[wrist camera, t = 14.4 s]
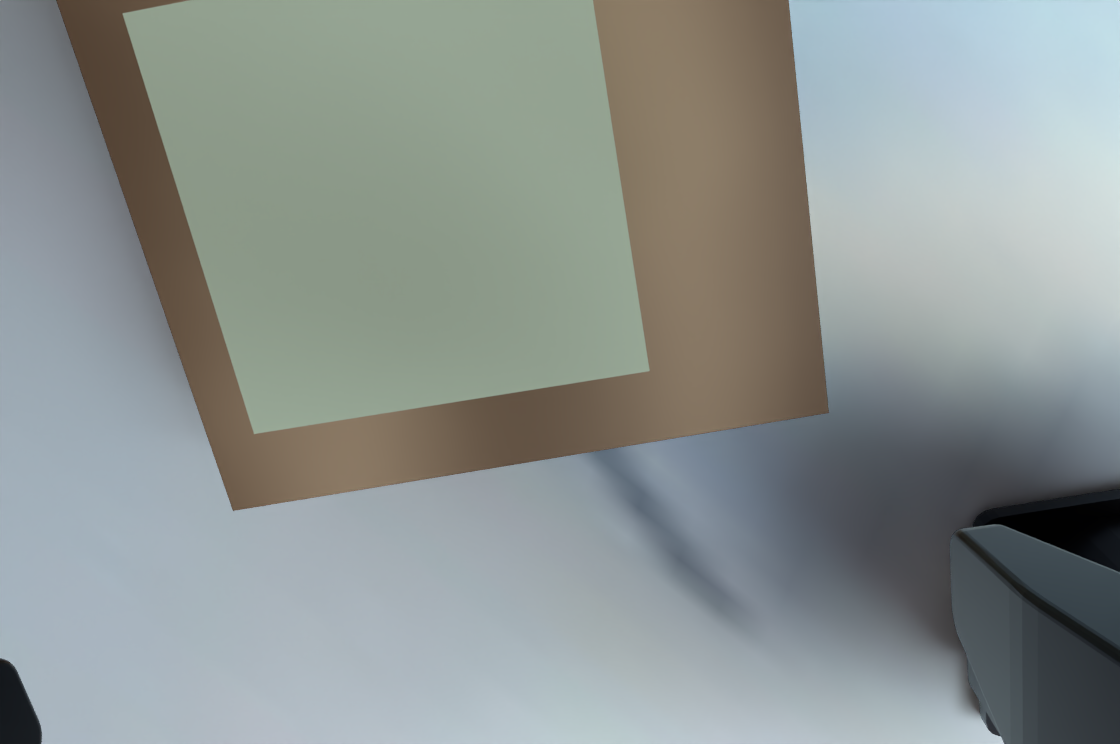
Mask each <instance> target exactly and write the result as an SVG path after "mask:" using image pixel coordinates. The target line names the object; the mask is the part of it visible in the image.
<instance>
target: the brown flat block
mask: <svg viewBox="0 0 1120 744" xmlns="http://www.w3.org/2000/svg"><path fill="white" fill-rule="evenodd" d="M56 1H57V4H58V6H59V9H60V12H61V15H62V18H63V21H64V24H65V27H66V30H67V32H68V35H69V38H70V41H71V44H72V47H73V50H74V53H75V56H76V58H77V61H78V64H79V67H80V70H81V73H82V76H83V79H84V82H85V84H86V87H87V90H88V93H89V96H90V99H91V102H92V105H93V108H94V110H95V113H96V116H97V119H98V122H99V125H100V128H101V131H102V134H103V136H104V139H105V142H106V145H107V148H108V151H109V154H110V157H111V160H112V162H113V165H114V168H115V171H116V174H117V177H118V180H119V183H120V186H121V188H122V191H123V194H124V197H125V200H126V203H127V206H128V209H129V212H130V214H131V217H132V220H133V223H134V226H135V229H136V232H137V235H138V238H139V240H140V243H141V246H142V249H143V252H144V255H145V258H146V261H147V264H148V266H149V269H150V272H151V275H152V278H153V281H154V284H155V287H156V290H157V292H158V295H159V298H160V301H161V304H162V307H163V310H164V313H165V316H166V318H167V321H168V324H169V327H170V330H171V333H172V336H173V339H174V342H175V344H176V347H177V350H178V353H179V356H180V359H181V362H182V365H183V368H184V370H185V373H186V376H187V379H188V382H189V385H190V388H191V391H192V394H193V396H194V399H195V402H196V405H197V408H198V411H199V414H200V417H201V420H202V422H203V425H204V428H205V431H206V434H207V437H208V440H209V443H210V446H211V448H212V451H213V454H214V457H215V460H216V463H217V466H218V469H219V472H220V474H221V477H222V480H223V483H224V486H225V489H226V492H227V495H228V497H229V500H230V503H231V506H232V509H233V511H234V510H240V509H247V508H253V507H259V506H265V505H271V504H277V503H283V502H289V501H295V500H301V499H307V498H314V497H320V496H326V495H332V494H338V493H344V492H350V491H356V490H362V489H368V488H374V487H381V486H387V485H393V484H399V483H405V482H411V481H417V480H423V479H429V478H435V477H441V476H448V475H454V474H460V473H466V472H472V471H478V470H484V469H490V468H496V467H502V466H508V465H514V464H521V463H527V462H533V461H539V460H545V459H551V458H557V457H563V456H569V455H575V454H581V453H588V452H594V451H600V450H606V449H612V448H618V447H624V446H630V445H636V444H642V443H648V442H655V441H661V440H667V439H673V438H679V437H685V436H691V435H697V434H703V433H709V432H715V431H721V430H728V429H734V428H740V427H746V426H752V425H758V424H764V423H770V422H776V421H782V420H788V419H795V418H801V417H807V416H813V415H819V414H825V413H829V410H828V400H827V390H826V379H825V369H824V359H823V349H822V338H821V328H820V318H819V308H818V298H817V287H816V277H815V267H814V257H813V246H812V236H811V226H810V216H809V205H808V195H807V185H806V175H805V164H804V154H803V144H802V134H801V123H800V113H799V103H798V93H797V83H796V72H795V62H794V52H793V42H792V31H791V21H790V11H789V1H788V0H593V4H594V11H595V17H596V24H597V30H598V37H599V43H600V50H601V56H602V63H603V69H604V76H605V83H606V89H607V96H608V102H609V109H610V115H611V122H612V128H613V135H614V141H615V148H616V154H617V161H618V167H619V174H620V181H621V187H622V194H623V200H624V207H625V213H626V220H627V226H628V233H629V239H630V246H631V252H632V259H633V266H634V272H635V279H636V285H637V292H638V298H639V305H640V311H641V318H642V324H643V331H644V337H645V344H646V351H647V357H648V364H649V370H650V371H647V372H641V373H635V374H629V375H622V376H616V377H610V378H603V379H597V380H591V381H585V382H578V383H572V384H566V385H559V386H553V387H547V388H540V389H534V390H528V391H522V392H515V393H509V394H503V395H496V396H490V397H484V398H478V399H471V400H465V401H459V402H452V403H446V404H440V405H434V406H427V407H421V408H415V409H408V410H402V411H396V412H390V413H383V414H377V415H371V416H364V417H358V418H352V419H346V420H339V421H333V422H327V423H320V424H314V425H308V426H301V427H295V428H289V429H283V430H276V431H270V432H264V433H257V434H254V432H253V429H252V426H251V422H250V419H249V416H248V413H247V410H246V407H245V403H244V400H243V397H242V394H241V391H240V387H239V384H238V381H237V378H236V375H235V371H234V368H233V365H232V362H231V359H230V355H229V352H228V349H227V346H226V343H225V339H224V336H223V333H222V330H221V327H220V323H219V320H218V317H217V314H216V311H215V308H214V304H213V301H212V298H211V295H210V292H209V288H208V285H207V282H206V279H205V276H204V272H203V269H202V266H201V263H200V260H199V256H198V253H197V250H196V247H195V244H194V240H193V237H192V234H191V231H190V228H189V225H188V221H187V218H186V215H185V212H184V209H183V205H182V202H181V199H180V196H179V193H178V189H177V186H176V183H175V180H174V177H173V173H172V170H171V167H170V164H169V161H168V157H167V154H166V151H165V148H164V145H163V141H162V138H161V135H160V132H159V129H158V126H157V122H156V119H155V116H154V113H153V110H152V106H151V103H150V100H149V97H148V94H147V90H146V87H145V84H144V81H143V78H142V74H141V71H140V68H139V65H138V62H137V58H136V55H135V52H134V49H133V46H132V42H131V39H130V36H129V33H128V30H127V27H126V23H125V20H124V17H123V14H122V13H127V12H132V11H137V10H142V9H148V8H153V7H158V6H163V5H168V4H173V3H178V2H183V1H188V0H56Z"/></svg>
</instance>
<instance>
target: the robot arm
mask: <svg viewBox="0 0 1120 744" xmlns="http://www.w3.org/2000/svg"><path fill="white" fill-rule="evenodd" d="M950 563H951V592H952V612H953V618H954V623H955V627H956V630H957V633H958V636H959V639H960V641H961V643H962V646H963V648H964V650H965V653H966V655H967V664H968V681H969V684H970V686H971V688H972V689H973V691H974V692H975V694H976V696H977V697H978V699H979V702H980V714H981V718H982V720H983V721H984V723H985V725H986V727H987V728H988V730H989V731H990V732H991V733H992V734H995V735H998V736H1001V737H1002V739H1003V742H1004V744H1120V489H1117V490H1111V491H1104V492H1098V493H1091V494H1085V495H1078V496H1072V497H1065V498H1059V499H1053V500H1046V501H1040V502H1033V503H1027V504H1020V505H1014V506H1008V507H1001V508H995V509H990V510H987V511H984V512H983V513H982V514H980V515H979V516H978V517H977V518H976V520H975V521H974V523H973V527H971V528H964V529H960V530H957V531H956V532H955V533H954V534H953V535H952V538H951V542H950ZM41 742H42V732H41V725H40V723H39V720H38V718H37V715H36V713H35V711H34V708H33V706H32V704H31V702H30V699H29V697H28V695H27V693H26V690H25V688H24V686H23V683H22V681H21V679H20V677H19V674H18V672H17V670H16V668H15V667H14V666H13V665H12V664H11V663H10V662H9V661H7V660H4V659H1V658H0V744H41Z"/></svg>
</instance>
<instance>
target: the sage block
mask: <svg viewBox="0 0 1120 744" xmlns="http://www.w3.org/2000/svg"><path fill="white" fill-rule="evenodd" d="M122 14H123V17H124V20H125V23H126V27H127V30H128V33H129V36H130V39H131V42H132V46H133V49H134V52H135V55H136V58H137V62H138V65H139V68H140V71H141V74H142V78H143V81H144V84H145V87H146V90H147V94H148V97H149V100H150V103H151V106H152V110H153V113H154V116H155V119H156V122H157V126H158V129H159V132H160V135H161V138H162V141H163V145H164V148H165V151H166V154H167V157H168V161H169V164H170V167H171V170H172V173H173V177H174V180H175V183H176V186H177V189H178V193H179V196H180V199H181V202H182V205H183V209H184V212H185V215H186V218H187V221H188V225H189V228H190V231H191V234H192V237H193V240H194V244H195V247H196V250H197V253H198V256H199V260H200V263H201V266H202V269H203V272H204V276H205V279H206V282H207V285H208V288H209V292H210V295H211V298H212V301H213V304H214V308H215V311H216V314H217V317H218V320H219V323H220V327H221V330H222V333H223V336H224V339H225V343H226V346H227V349H228V352H229V355H230V359H231V362H232V365H233V368H234V371H235V375H236V378H237V381H238V384H239V387H240V391H241V394H242V397H243V400H244V403H245V407H246V410H247V413H248V416H249V419H250V422H251V426H252V429H253V432H254V434H257V433H264V432H270V431H276V430H283V429H289V428H295V427H301V426H308V425H314V424H320V423H327V422H333V421H339V420H346V419H352V418H358V417H364V416H371V415H377V414H383V413H390V412H396V411H402V410H408V409H415V408H421V407H427V406H434V405H440V404H446V403H452V402H459V401H465V400H471V399H478V398H484V397H490V396H496V395H503V394H509V393H515V392H522V391H528V390H534V389H540V388H547V387H553V386H559V385H566V384H572V383H578V382H585V381H591V380H597V379H603V378H610V377H616V376H622V375H629V374H635V373H641V372H647V371H650V370H649V364H648V357H647V351H646V344H645V337H644V331H643V324H642V318H641V311H640V305H639V298H638V292H637V285H636V279H635V272H634V266H633V259H632V252H631V246H630V239H629V233H628V226H627V220H626V213H625V207H624V200H623V194H622V187H621V181H620V174H619V167H618V161H617V154H616V148H615V141H614V135H613V128H612V122H611V115H610V109H609V102H608V96H607V89H606V83H605V76H604V69H603V63H602V56H601V50H600V43H599V37H598V30H597V24H596V17H595V11H594V4H593V0H188V1H183V2H178V3H173V4H168V5H163V6H158V7H153V8H148V9H142V10H137V11H132V12H127V13H122Z"/></svg>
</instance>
